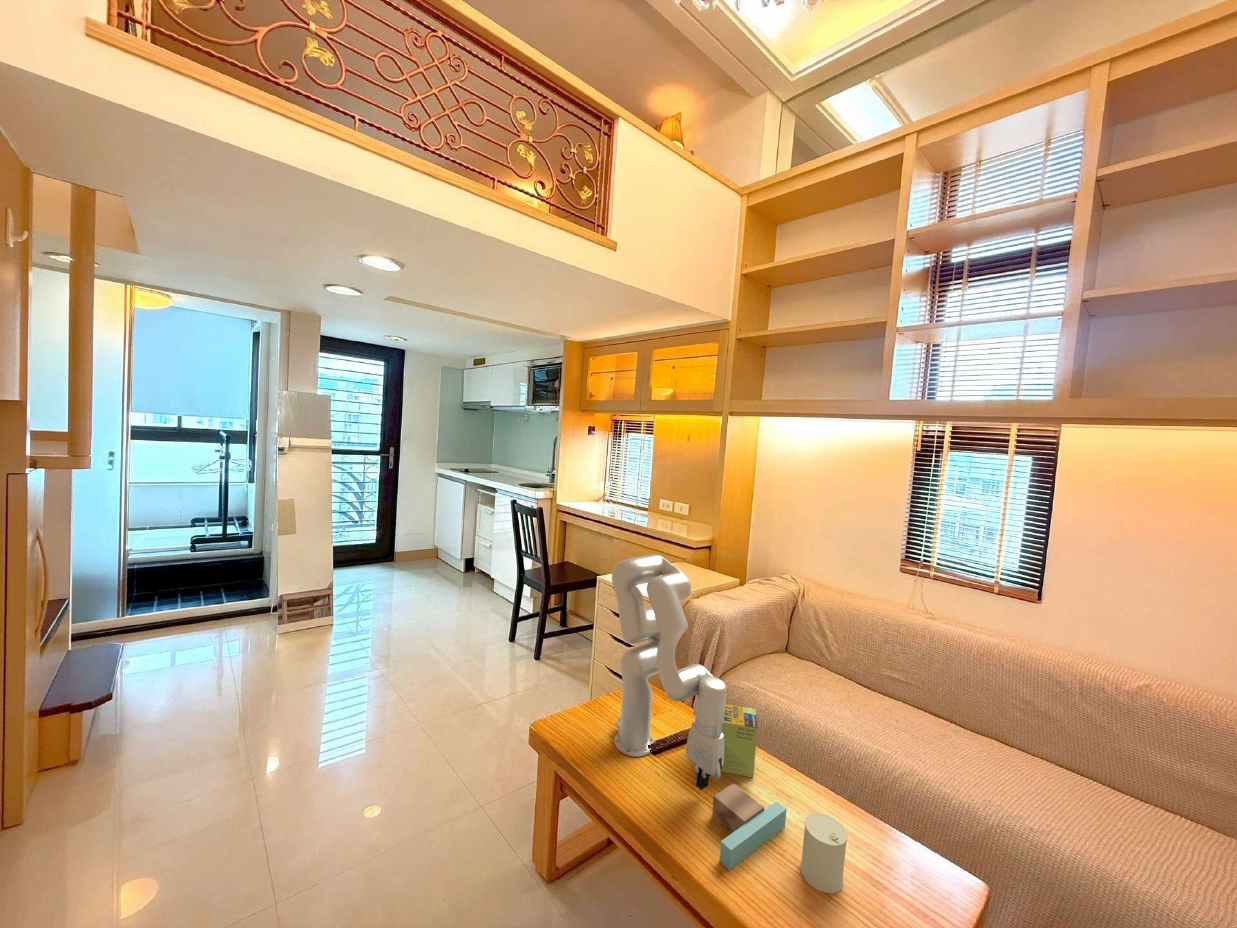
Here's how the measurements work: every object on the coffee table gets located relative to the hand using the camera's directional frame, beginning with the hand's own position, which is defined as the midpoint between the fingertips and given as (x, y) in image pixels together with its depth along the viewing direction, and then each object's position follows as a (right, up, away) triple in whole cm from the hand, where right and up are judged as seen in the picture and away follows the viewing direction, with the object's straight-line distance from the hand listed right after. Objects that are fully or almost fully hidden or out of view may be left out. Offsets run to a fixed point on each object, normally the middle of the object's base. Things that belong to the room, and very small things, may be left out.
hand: (701, 786), depth 135 cm
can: (+24, -7, -21) cm, 33 cm away
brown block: (+8, -5, -7) cm, 12 cm away
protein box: (+10, -3, +16) cm, 19 cm away
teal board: (+11, -5, -14) cm, 18 cm away
